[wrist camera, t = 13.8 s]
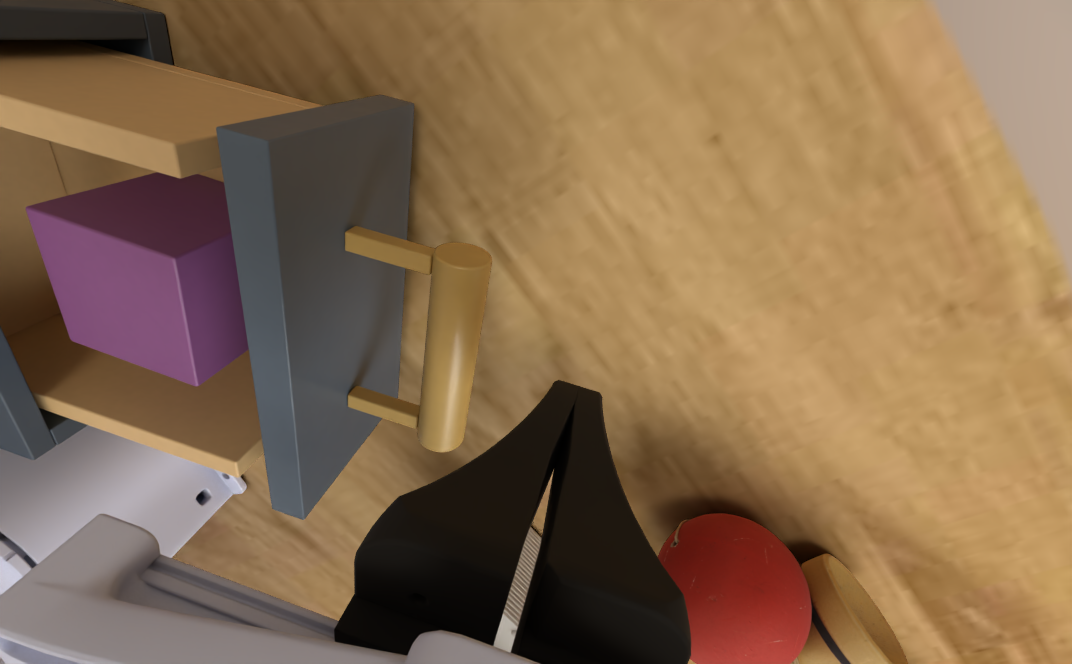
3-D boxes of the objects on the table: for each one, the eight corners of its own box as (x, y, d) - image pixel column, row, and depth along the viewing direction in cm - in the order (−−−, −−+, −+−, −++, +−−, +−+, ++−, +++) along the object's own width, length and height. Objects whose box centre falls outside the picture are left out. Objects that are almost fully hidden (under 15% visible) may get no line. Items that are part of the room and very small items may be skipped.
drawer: (542, 136, 15) (463, 195, 10) (486, 426, 22) (420, 562, 16) (22, 1, 17) (-302, -17, 11) (117, 307, 24) (-59, 391, 18)
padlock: (588, 593, 28) (551, 834, 19) (528, 600, 30) (470, 824, 21) (525, 505, 25) (452, 736, 17) (464, 519, 27) (369, 734, 19)
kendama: (990, 652, 25) (769, 465, 19) (1051, 828, 20) (786, 651, 15) (832, 655, 30) (621, 508, 24) (853, 796, 25) (600, 656, 20)
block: (176, 165, 18) (22, 206, 14) (294, 204, 17) (173, 258, 13) (195, 278, 20) (69, 341, 16) (298, 314, 20) (197, 388, 16)
